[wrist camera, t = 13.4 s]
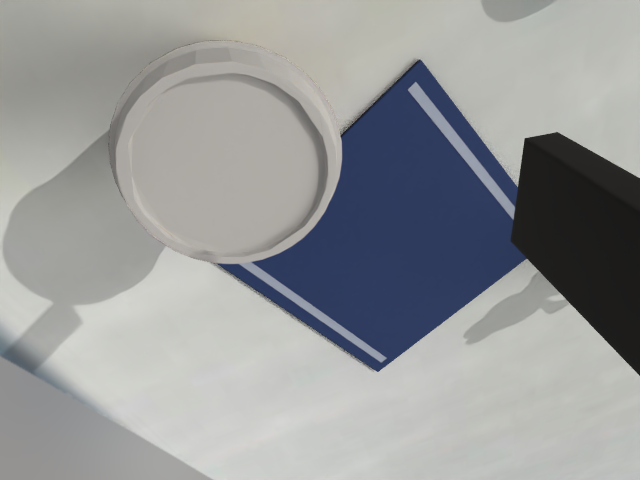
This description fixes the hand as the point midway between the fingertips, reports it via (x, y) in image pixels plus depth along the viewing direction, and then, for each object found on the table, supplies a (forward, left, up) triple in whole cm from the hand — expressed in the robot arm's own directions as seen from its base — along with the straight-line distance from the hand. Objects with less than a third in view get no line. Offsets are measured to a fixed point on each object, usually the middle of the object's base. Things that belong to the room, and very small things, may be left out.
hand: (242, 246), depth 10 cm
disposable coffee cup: (+1, -2, -21) cm, 21 cm away
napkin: (+18, -1, -20) cm, 27 cm away
